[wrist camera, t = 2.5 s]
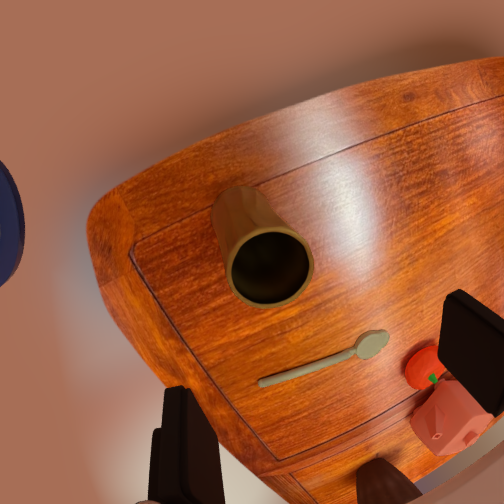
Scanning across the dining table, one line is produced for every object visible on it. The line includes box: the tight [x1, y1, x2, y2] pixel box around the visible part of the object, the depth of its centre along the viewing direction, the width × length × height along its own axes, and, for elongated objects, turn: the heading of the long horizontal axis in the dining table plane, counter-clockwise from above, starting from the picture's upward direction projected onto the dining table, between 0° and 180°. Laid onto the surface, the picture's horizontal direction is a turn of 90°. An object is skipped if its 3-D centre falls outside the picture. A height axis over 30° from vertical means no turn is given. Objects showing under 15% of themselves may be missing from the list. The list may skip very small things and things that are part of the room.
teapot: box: [410, 379, 494, 456], centre depth 43 cm, size 22×13×14 cm, turn 65°
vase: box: [211, 186, 314, 309], centre depth 25 cm, size 6×6×14 cm
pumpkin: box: [405, 345, 445, 390], centre depth 40 cm, size 7×8×6 cm
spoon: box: [258, 330, 389, 387], centre depth 39 cm, size 19×4×1 cm, turn 104°
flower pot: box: [356, 458, 423, 504], centre depth 48 cm, size 15×15×16 cm
